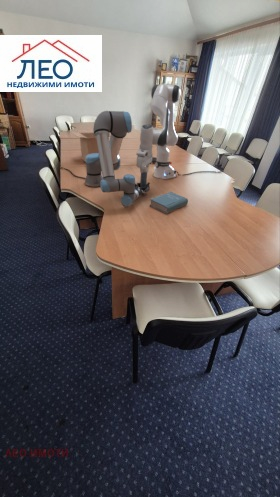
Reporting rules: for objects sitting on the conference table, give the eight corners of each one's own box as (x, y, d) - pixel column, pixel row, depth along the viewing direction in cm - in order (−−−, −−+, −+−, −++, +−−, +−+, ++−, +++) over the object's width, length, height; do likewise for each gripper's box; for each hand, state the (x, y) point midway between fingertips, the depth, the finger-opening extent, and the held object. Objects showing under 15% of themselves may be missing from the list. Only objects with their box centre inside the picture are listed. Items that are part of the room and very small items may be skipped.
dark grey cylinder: (138, 194, 172) (140, 169, 160) (140, 192, 176) (142, 167, 164) (144, 195, 171) (146, 170, 160) (146, 193, 175) (148, 168, 163)
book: (169, 197, 170) (170, 191, 167) (186, 205, 161) (188, 198, 158) (149, 205, 157) (150, 199, 154) (167, 214, 148) (168, 207, 145)
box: (116, 165, 229) (116, 136, 213) (83, 168, 214) (80, 137, 198) (102, 154, 259) (101, 128, 243) (71, 156, 244) (68, 129, 228)
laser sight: (156, 164, 241) (157, 154, 235) (136, 162, 244) (137, 152, 238) (158, 162, 249) (159, 152, 243) (138, 159, 252) (139, 150, 246)
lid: (147, 172, 160) (147, 169, 159) (139, 171, 161) (139, 168, 160) (148, 170, 165) (149, 167, 164) (141, 169, 166) (141, 166, 164)
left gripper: (122, 196, 160) (134, 186, 178) (145, 201, 156) (155, 190, 174) (122, 186, 156) (135, 176, 174) (146, 191, 151) (156, 180, 169)
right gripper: (147, 147, 163) (146, 166, 172) (135, 153, 148) (134, 173, 156) (155, 149, 161) (153, 168, 170) (143, 154, 146) (142, 175, 154)
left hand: (145, 183), depth 174 cm, fingers closed on dark grey cylinder, 5 cm apart
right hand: (144, 171), depth 163 cm, fingers open, 7 cm apart
